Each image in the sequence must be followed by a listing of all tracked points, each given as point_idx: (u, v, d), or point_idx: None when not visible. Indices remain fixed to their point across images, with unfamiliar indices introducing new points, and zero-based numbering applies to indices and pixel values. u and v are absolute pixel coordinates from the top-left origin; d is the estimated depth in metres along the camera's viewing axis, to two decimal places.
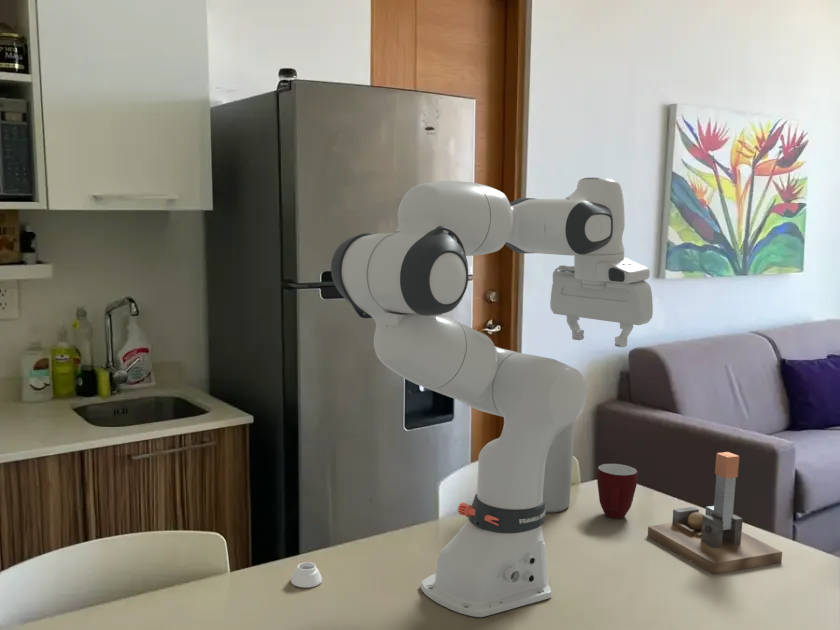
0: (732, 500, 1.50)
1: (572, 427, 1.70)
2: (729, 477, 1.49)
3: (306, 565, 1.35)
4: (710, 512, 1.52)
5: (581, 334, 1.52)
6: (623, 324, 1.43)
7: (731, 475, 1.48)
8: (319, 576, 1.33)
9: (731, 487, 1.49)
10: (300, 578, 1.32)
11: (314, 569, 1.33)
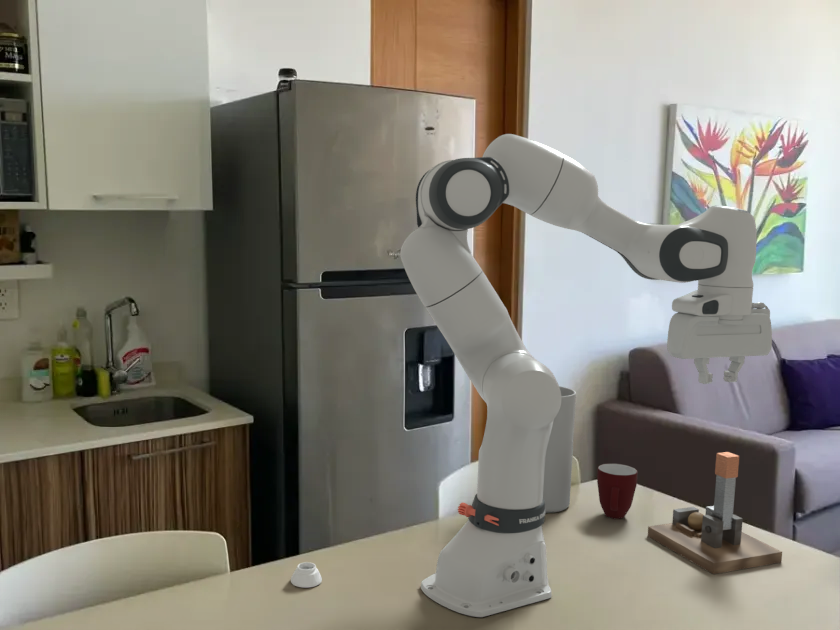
0: (732, 500, 1.50)
1: (572, 427, 1.70)
2: (729, 477, 1.49)
3: (306, 565, 1.35)
4: (710, 512, 1.52)
5: (729, 376, 1.39)
6: None
7: (731, 475, 1.48)
8: (319, 576, 1.33)
9: (731, 487, 1.49)
10: (300, 578, 1.32)
11: (314, 569, 1.33)
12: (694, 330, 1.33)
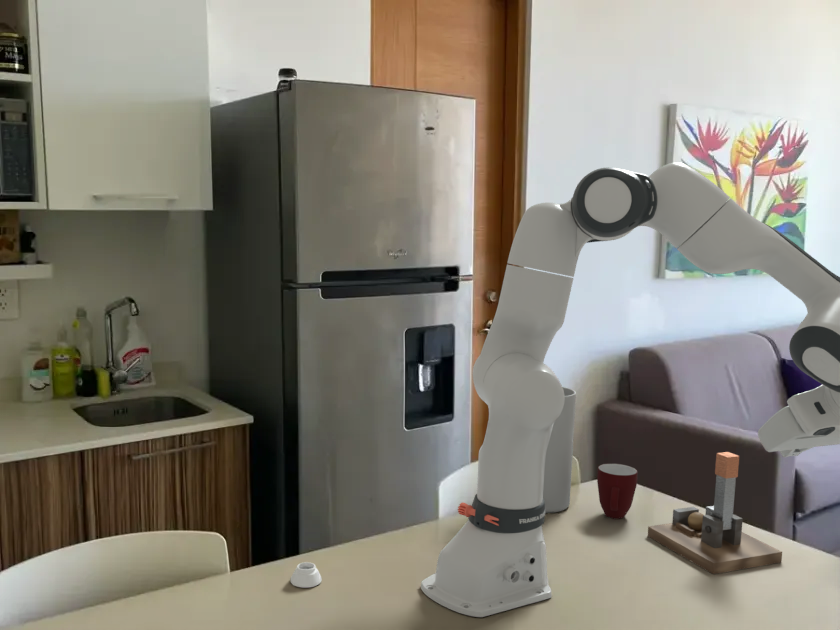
0: (732, 500, 1.50)
1: (572, 427, 1.70)
2: (729, 477, 1.49)
3: (306, 565, 1.35)
4: (710, 512, 1.52)
5: None
6: None
7: (731, 475, 1.48)
8: (319, 576, 1.33)
9: (731, 487, 1.49)
10: (300, 578, 1.32)
11: (314, 569, 1.33)
12: None
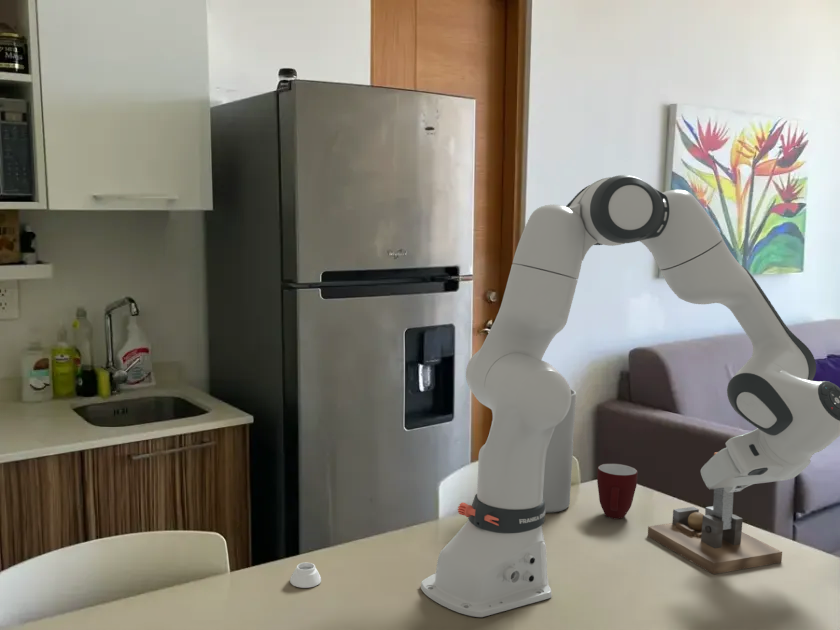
0: (731, 499, 1.50)
1: (572, 427, 1.70)
2: None
3: (305, 565, 1.35)
4: (710, 512, 1.52)
5: None
6: None
7: None
8: (318, 576, 1.33)
9: None
10: (299, 578, 1.32)
11: (313, 569, 1.33)
12: None
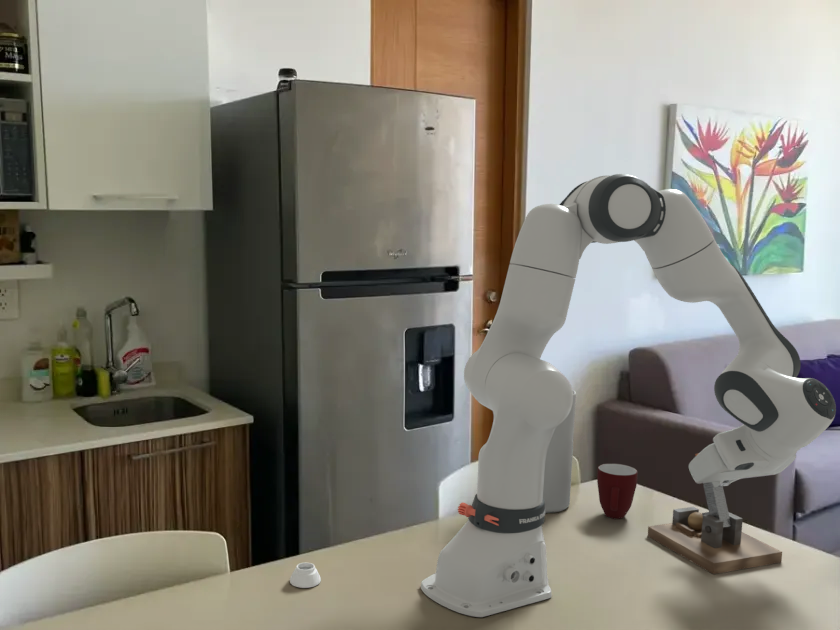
0: (723, 496, 1.52)
1: (572, 427, 1.70)
2: None
3: (305, 565, 1.35)
4: None
5: None
6: None
7: None
8: (318, 576, 1.33)
9: None
10: (299, 578, 1.32)
11: (313, 569, 1.33)
12: None
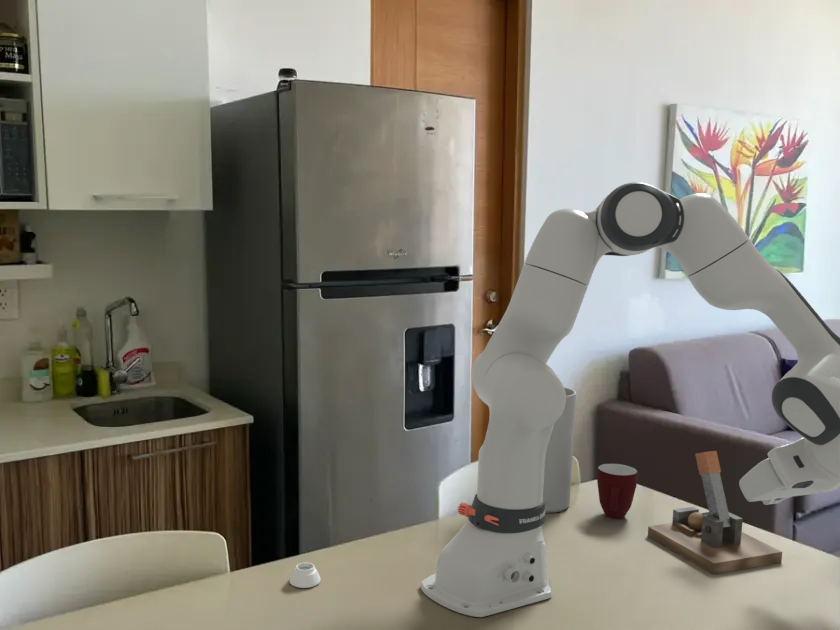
0: (723, 496, 1.52)
1: (572, 427, 1.70)
2: (713, 472, 1.52)
3: (305, 565, 1.35)
4: None
5: None
6: None
7: (714, 470, 1.52)
8: (318, 576, 1.33)
9: (718, 482, 1.52)
10: (299, 578, 1.32)
11: (312, 569, 1.33)
12: None
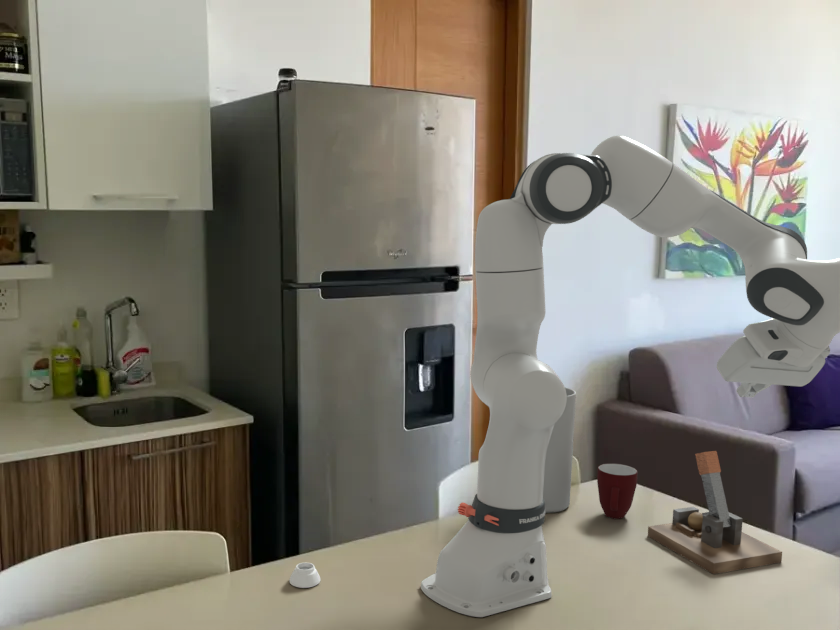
0: (723, 496, 1.52)
1: (572, 427, 1.70)
2: (713, 472, 1.52)
3: (304, 565, 1.35)
4: None
5: None
6: None
7: (714, 470, 1.52)
8: (317, 576, 1.33)
9: (718, 482, 1.52)
10: (299, 578, 1.32)
11: (312, 569, 1.33)
12: (751, 364, 1.34)
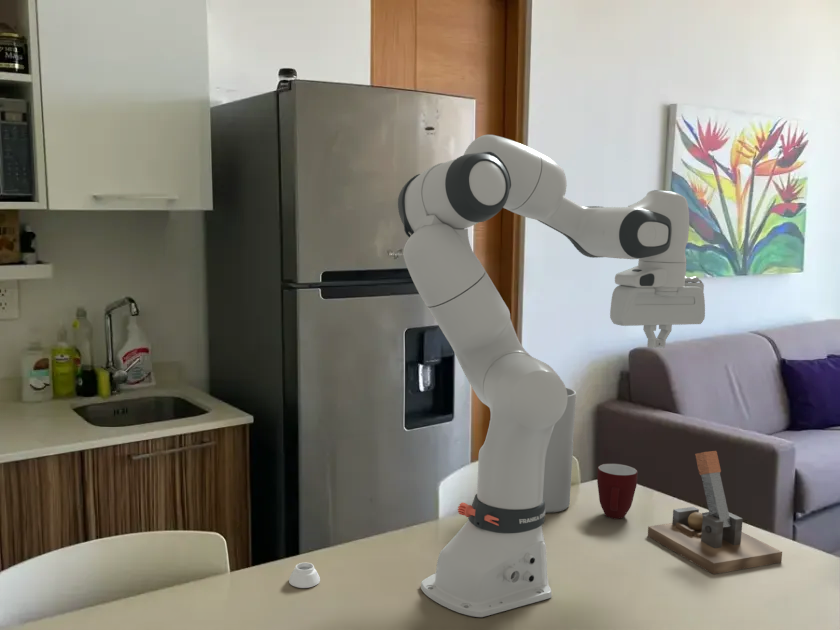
0: (723, 496, 1.52)
1: (572, 427, 1.70)
2: (713, 472, 1.52)
3: (304, 565, 1.35)
4: None
5: None
6: (646, 325, 1.56)
7: (714, 470, 1.52)
8: (317, 576, 1.33)
9: (718, 482, 1.52)
10: (298, 578, 1.31)
11: (312, 569, 1.33)
12: (633, 300, 1.51)
